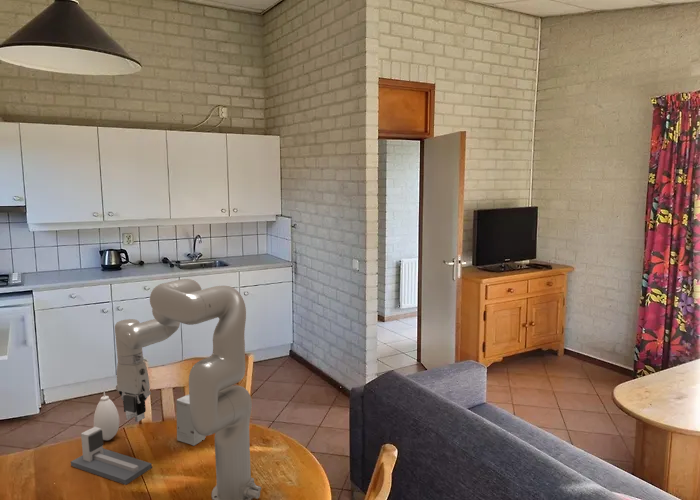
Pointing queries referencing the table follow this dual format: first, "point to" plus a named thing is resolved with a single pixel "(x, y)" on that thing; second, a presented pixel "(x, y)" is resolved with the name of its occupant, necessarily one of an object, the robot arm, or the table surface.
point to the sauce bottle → (106, 417)
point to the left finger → (131, 407)
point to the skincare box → (186, 423)
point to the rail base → (107, 460)
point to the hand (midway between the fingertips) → (134, 411)
